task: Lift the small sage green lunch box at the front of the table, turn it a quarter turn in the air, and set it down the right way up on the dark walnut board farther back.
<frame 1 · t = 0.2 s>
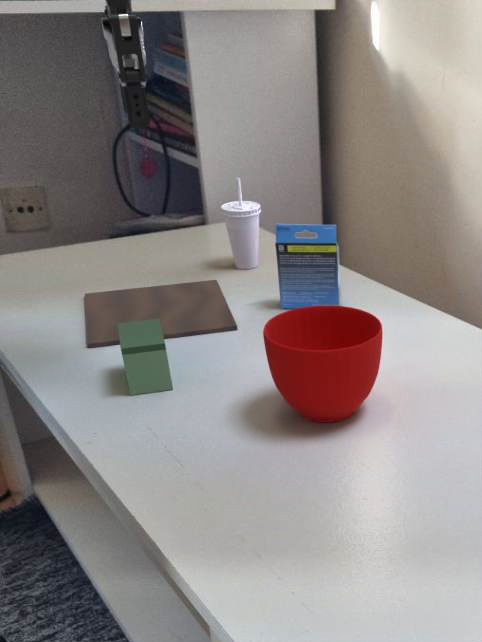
hand: (137, 119, 89), 28 cm above the table, tool pointing down, fingers open, 8 cm apart
walnut board: (158, 312, 117), on the table
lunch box: (149, 378, 99), on the table
label tape box: (311, 306, 120), on the table
ceramic cup: (332, 402, 94), on the table
smoothie: (246, 266, 135), on the table
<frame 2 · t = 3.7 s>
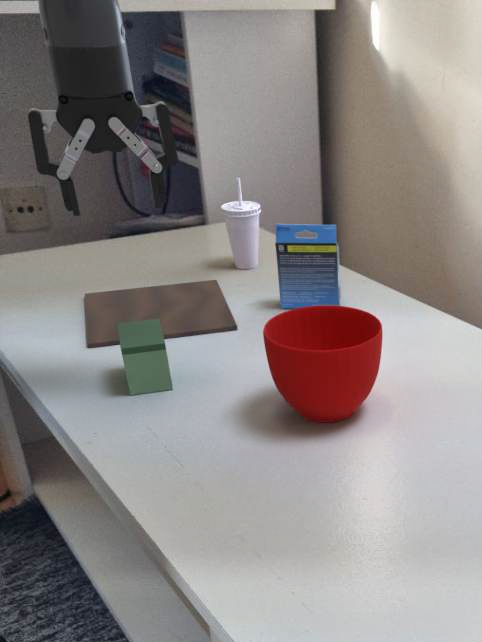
hand: (117, 210, 88), 20 cm above the table, tool pointing down, fingers open, 8 cm apart
nothing on the table moved.
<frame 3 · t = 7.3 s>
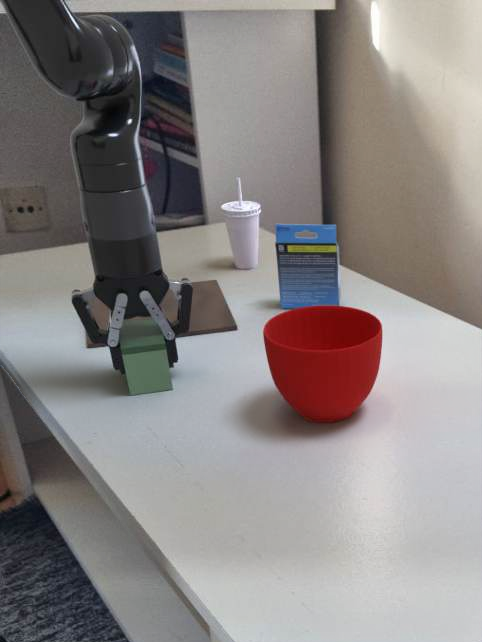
hand: (146, 368, 99), 1 cm above the table, tool pointing down, fingers closed on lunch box, 5 cm apart
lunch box: (149, 378, 99), on the table, touching gripper
everything else where it was.
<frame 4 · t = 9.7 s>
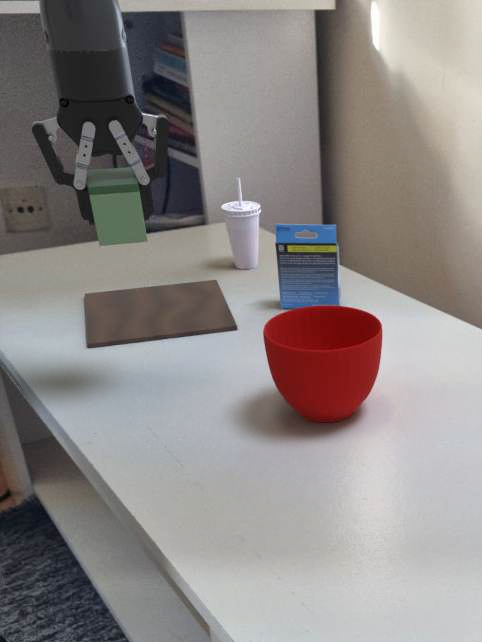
hand: (119, 220, 88), 19 cm above the table, tool pointing down, fingers closed on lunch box, 5 cm apart
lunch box: (121, 233, 89), point 18 cm above the table, touching gripper
everything else where it was.
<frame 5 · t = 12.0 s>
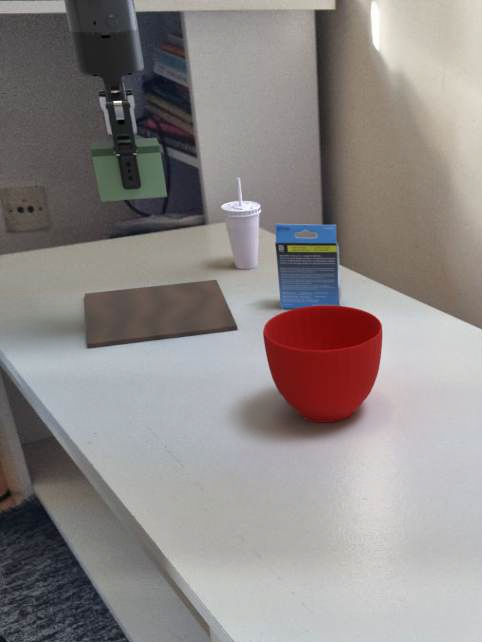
hand: (131, 182, 101), 19 cm above the table, tool pointing down, fingers closed on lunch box, 5 cm apart
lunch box: (133, 194, 102), point 18 cm above the table, touching gripper
everything else where it was.
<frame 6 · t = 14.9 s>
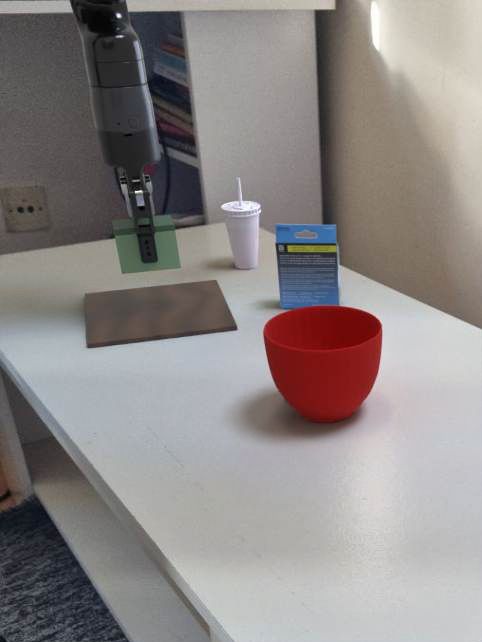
hand: (148, 255, 113), 8 cm above the table, tool pointing down, fingers closed on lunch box, 5 cm apart
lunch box: (150, 265, 113), point 7 cm above the table, touching gripper
everything else where it was.
when the fingers open (2 cm above the table, at t = 16.9 s): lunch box stays where it is, resting on walnut board.
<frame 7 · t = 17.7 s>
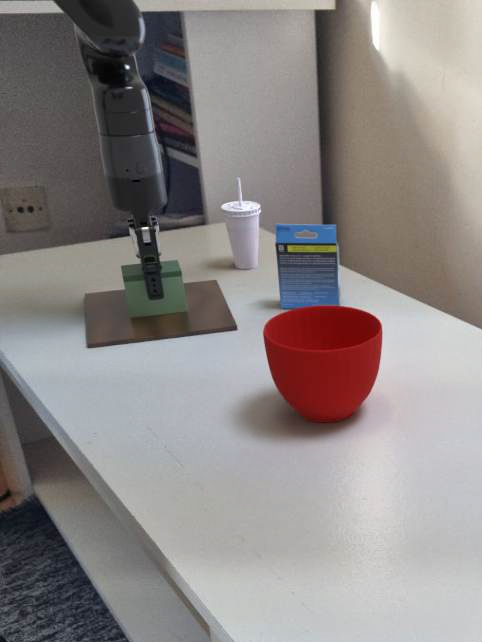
hand: (153, 288, 115), 4 cm above the table, tool pointing down, fingers open, 8 cm apart
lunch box: (157, 308, 117), point 1 cm above the table, touching walnut board
everything else where it was.
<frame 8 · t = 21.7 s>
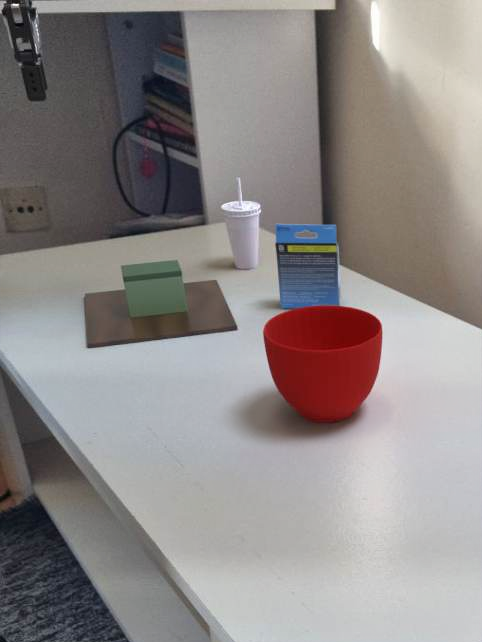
hand: (38, 95, 103), 28 cm above the table, tool pointing down, fingers open, 8 cm apart
nothing on the table moved.
at the end: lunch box inside the target area on the walnut board (0.0 cm from its centre), point 0.6 cm above the walnut board's base; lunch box tilted 0°; the gripper is holding nothing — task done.
